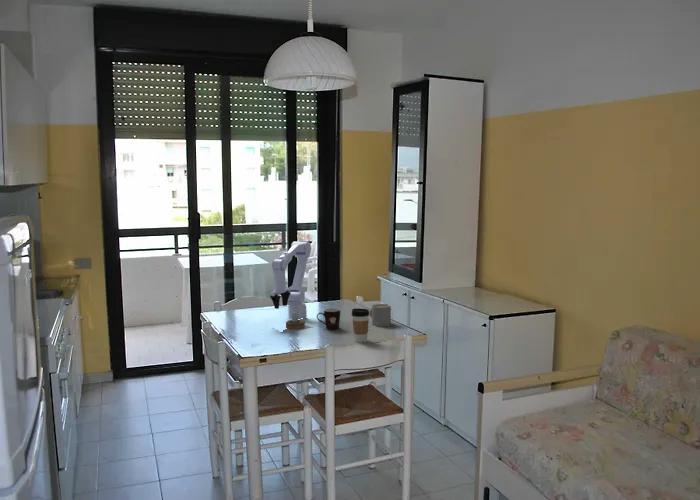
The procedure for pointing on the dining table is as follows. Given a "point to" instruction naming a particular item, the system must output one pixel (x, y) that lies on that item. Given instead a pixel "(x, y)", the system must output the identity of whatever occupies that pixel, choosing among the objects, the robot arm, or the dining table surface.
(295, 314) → the dowel
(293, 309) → the robot arm
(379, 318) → the coffee mug
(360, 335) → the coffee cup
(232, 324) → the dining table surface
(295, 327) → the faceted ring
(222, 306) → the dining table surface
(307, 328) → the mat
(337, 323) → the coffee mug
